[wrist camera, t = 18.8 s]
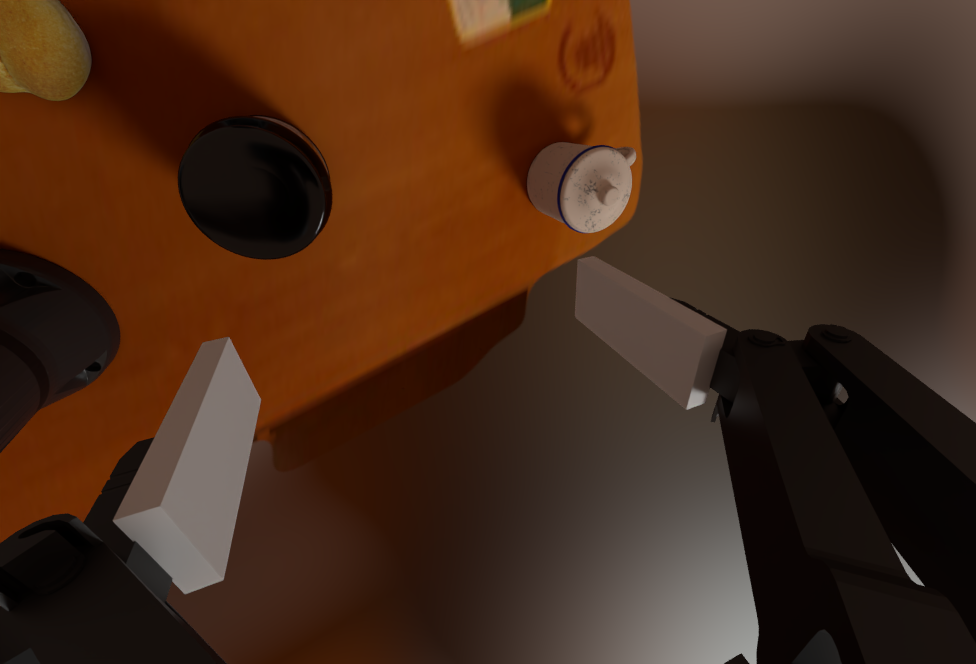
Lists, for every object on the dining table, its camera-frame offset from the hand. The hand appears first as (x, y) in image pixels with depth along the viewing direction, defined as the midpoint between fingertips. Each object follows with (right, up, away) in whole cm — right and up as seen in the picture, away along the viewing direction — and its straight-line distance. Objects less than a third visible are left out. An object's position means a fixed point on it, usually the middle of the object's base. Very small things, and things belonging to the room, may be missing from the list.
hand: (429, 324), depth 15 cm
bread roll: (-33, +22, +14) cm, 42 cm away
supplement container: (-19, +15, +24) cm, 34 cm away
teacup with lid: (+12, +20, +34) cm, 41 cm away
